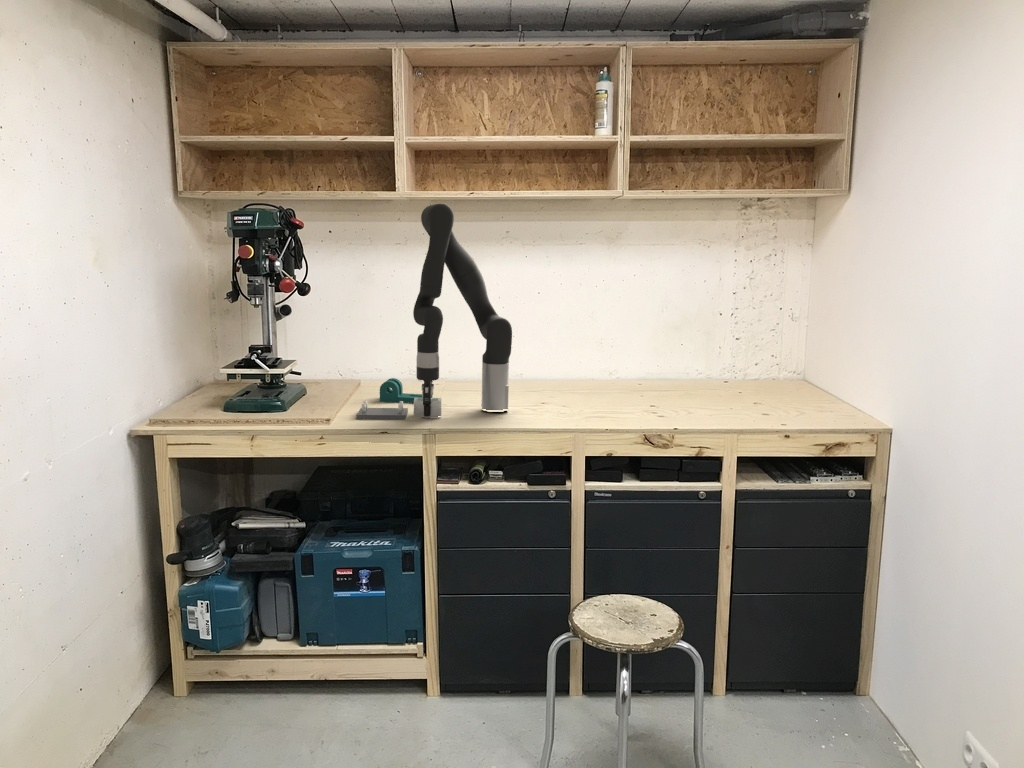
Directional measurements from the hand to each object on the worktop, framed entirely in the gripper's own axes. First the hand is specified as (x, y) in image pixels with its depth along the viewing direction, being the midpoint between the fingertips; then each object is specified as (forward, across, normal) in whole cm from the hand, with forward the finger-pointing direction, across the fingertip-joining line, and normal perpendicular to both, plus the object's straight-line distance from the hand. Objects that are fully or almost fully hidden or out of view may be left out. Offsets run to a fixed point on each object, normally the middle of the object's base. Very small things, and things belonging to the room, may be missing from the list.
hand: (427, 413), depth 231 cm
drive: (+1, 0, 0) cm, 1 cm away
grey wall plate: (+1, 0, +15) cm, 15 cm away
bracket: (+1, +23, +9) cm, 25 cm away
